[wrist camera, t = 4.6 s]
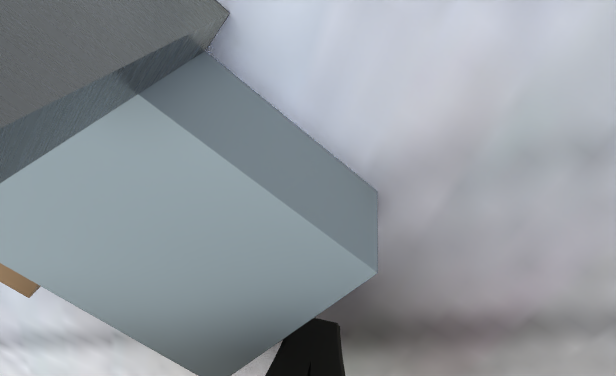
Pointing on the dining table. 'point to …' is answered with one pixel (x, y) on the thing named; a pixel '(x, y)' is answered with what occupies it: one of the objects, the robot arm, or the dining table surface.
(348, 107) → the dining table surface
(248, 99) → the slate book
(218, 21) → the grey flat block
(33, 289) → the walnut rail
